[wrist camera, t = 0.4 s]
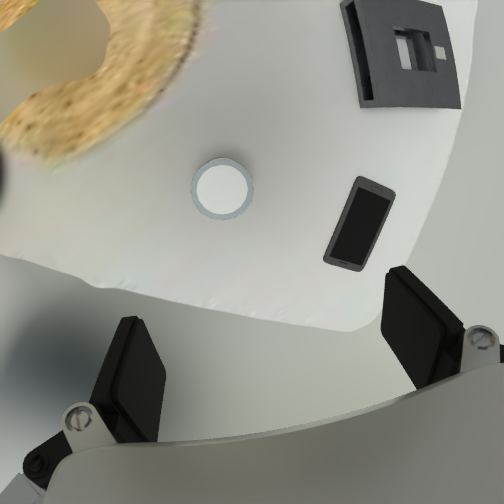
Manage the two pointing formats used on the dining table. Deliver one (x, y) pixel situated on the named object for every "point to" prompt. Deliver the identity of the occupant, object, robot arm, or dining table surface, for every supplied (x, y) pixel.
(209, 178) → the white cylinder
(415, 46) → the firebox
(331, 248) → the cell phone
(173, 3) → the dining table surface
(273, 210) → the dining table surface
